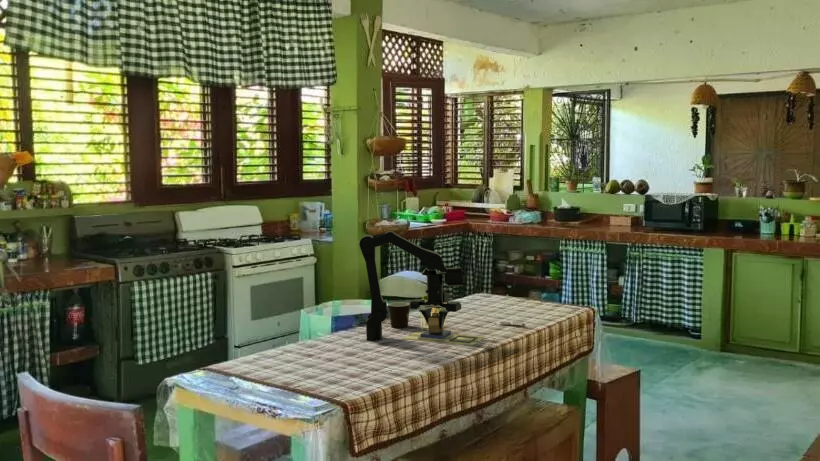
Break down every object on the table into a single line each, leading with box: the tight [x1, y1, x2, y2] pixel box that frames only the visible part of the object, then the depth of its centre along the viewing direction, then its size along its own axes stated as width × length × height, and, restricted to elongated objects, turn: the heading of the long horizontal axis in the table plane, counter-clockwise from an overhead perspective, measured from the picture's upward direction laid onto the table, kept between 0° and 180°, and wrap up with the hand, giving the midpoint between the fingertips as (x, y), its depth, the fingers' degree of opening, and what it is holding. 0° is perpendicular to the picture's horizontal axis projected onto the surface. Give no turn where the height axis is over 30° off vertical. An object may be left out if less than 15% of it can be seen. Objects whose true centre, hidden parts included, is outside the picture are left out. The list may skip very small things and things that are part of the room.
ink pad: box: [418, 329, 455, 341], centre depth 281 cm, size 10×10×2 cm
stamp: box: [427, 312, 444, 334], centre depth 281 cm, size 4×4×7 cm
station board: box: [401, 330, 486, 347], centre depth 280 cm, size 14×28×1 cm, turn 64°
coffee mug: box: [387, 301, 410, 330], centre depth 302 cm, size 12×9×10 cm
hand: (435, 328), depth 281 cm, fingers closed on stamp, 4 cm apart
